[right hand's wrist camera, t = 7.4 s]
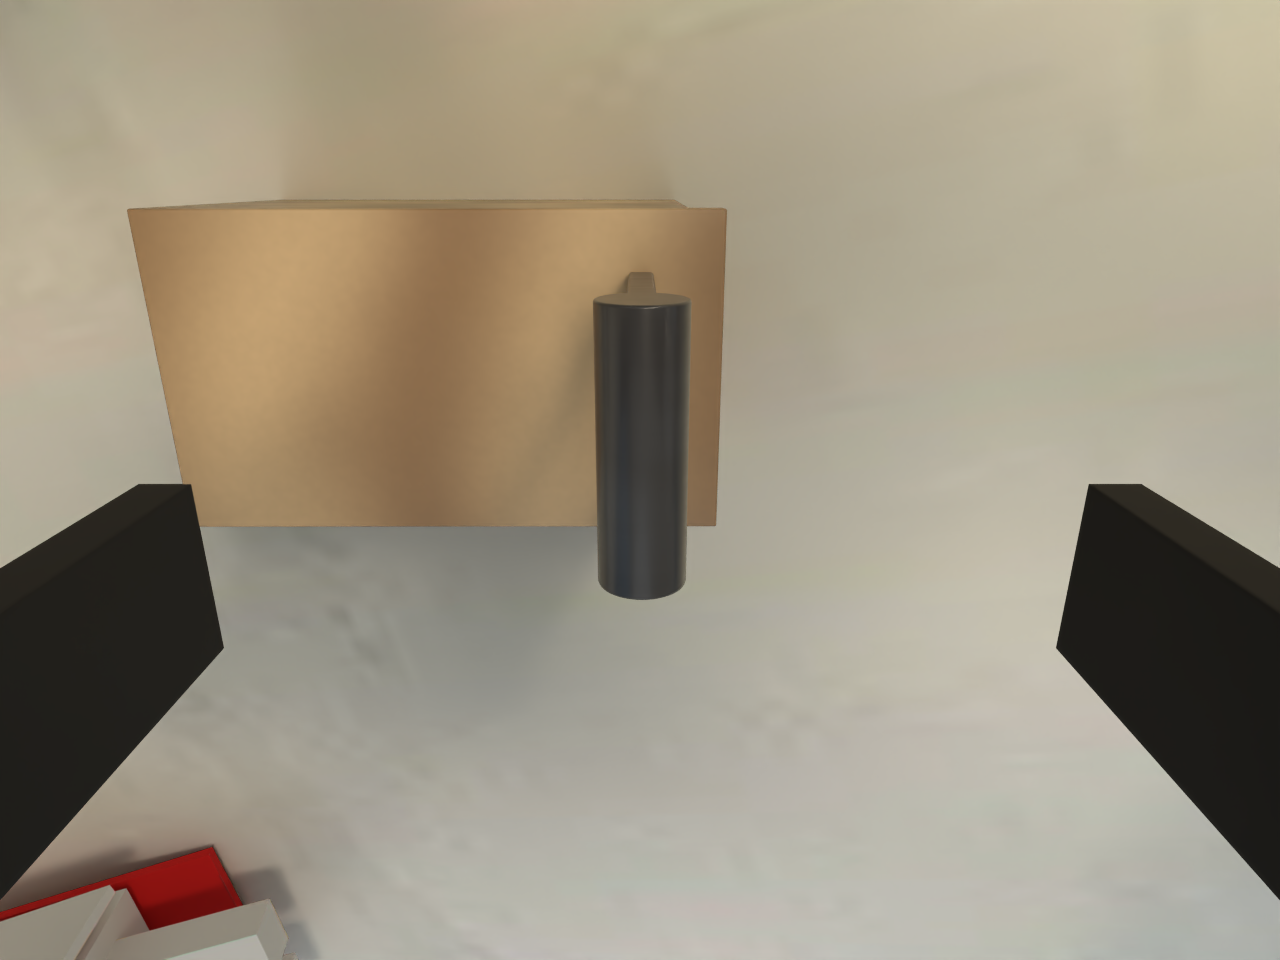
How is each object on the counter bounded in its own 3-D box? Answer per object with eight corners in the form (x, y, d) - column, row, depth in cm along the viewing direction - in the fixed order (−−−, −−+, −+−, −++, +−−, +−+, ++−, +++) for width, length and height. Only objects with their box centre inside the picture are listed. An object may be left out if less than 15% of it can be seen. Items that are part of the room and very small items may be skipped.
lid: (724, 208, 23) (768, 222, 15) (714, 516, 27) (746, 660, 19) (143, 207, 23) (-115, 223, 15) (204, 516, 26) (17, 661, 19)
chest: (675, 199, 32) (689, 207, 23) (672, 431, 35) (683, 516, 27) (280, 200, 32) (144, 207, 23) (313, 431, 35) (204, 516, 27)
